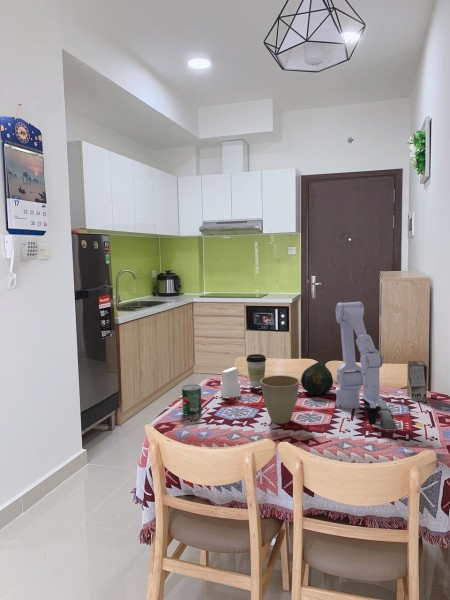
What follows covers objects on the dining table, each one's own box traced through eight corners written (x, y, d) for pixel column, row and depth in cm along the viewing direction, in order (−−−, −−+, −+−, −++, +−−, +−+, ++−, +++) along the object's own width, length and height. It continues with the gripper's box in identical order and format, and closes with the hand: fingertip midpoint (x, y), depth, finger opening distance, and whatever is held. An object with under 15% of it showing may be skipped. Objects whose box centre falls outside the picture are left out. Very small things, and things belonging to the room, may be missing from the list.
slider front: (383, 427, 164) (383, 419, 164) (380, 417, 174) (380, 410, 173) (392, 428, 163) (392, 420, 163) (389, 418, 173) (389, 410, 173)
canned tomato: (178, 413, 190) (177, 387, 189) (192, 408, 196) (191, 383, 195) (192, 417, 185) (190, 391, 184) (205, 412, 190) (204, 386, 189)
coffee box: (427, 403, 191) (427, 366, 189) (410, 403, 192) (411, 365, 191) (422, 396, 200) (422, 360, 198) (406, 396, 201) (406, 360, 200)
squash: (292, 384, 207) (313, 360, 203) (298, 376, 221) (319, 354, 217) (315, 406, 204) (338, 383, 200) (321, 397, 218) (342, 375, 214)
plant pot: (254, 417, 182) (253, 378, 181) (287, 411, 188) (286, 373, 186) (273, 430, 169) (272, 388, 167) (307, 423, 174) (306, 382, 173)
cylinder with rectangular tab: (228, 391, 218) (227, 366, 217) (244, 393, 213) (243, 368, 212) (217, 396, 211) (216, 370, 210) (233, 399, 206) (232, 373, 205)
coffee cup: (245, 389, 220) (244, 358, 219) (248, 383, 230) (247, 353, 229) (266, 389, 219) (265, 358, 217) (267, 383, 228) (266, 353, 227)
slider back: (380, 416, 176) (380, 408, 175) (377, 407, 185) (377, 400, 185) (388, 416, 175) (388, 408, 175) (385, 407, 185) (385, 400, 184)
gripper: (385, 391, 160) (385, 428, 162) (380, 379, 174) (380, 414, 176) (364, 390, 162) (364, 427, 163) (361, 378, 176) (361, 413, 177)
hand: (371, 420), depth 170 cm, fingers open, 7 cm apart
